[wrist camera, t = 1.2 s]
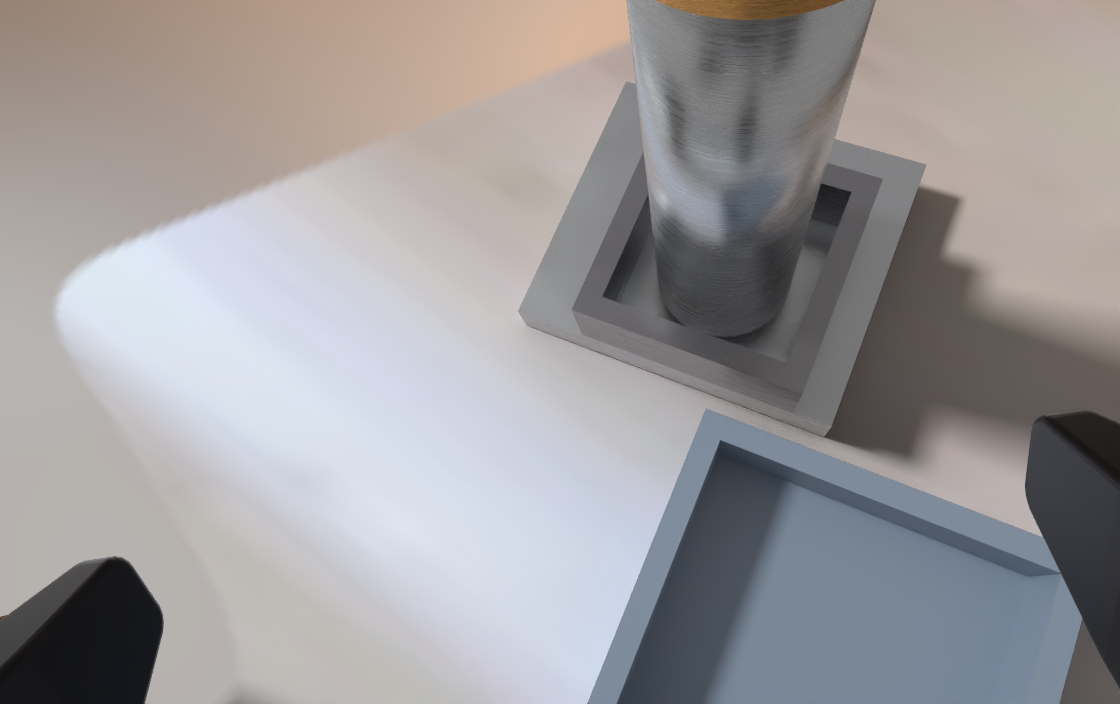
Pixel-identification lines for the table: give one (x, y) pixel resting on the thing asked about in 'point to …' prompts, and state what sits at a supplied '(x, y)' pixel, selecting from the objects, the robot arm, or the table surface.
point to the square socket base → (700, 359)
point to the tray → (832, 590)
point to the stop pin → (737, 143)
